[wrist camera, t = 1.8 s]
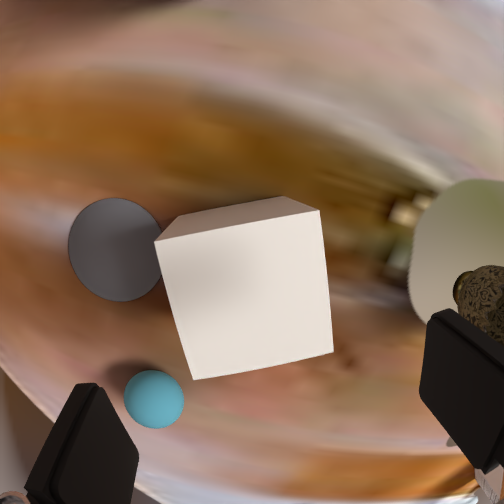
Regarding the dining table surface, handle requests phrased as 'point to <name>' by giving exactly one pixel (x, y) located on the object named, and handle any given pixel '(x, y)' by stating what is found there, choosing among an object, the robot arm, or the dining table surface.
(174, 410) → the ball
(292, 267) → the cream matte cube
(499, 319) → the stone
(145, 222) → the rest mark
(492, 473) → the supplement box
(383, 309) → the dining table surface
